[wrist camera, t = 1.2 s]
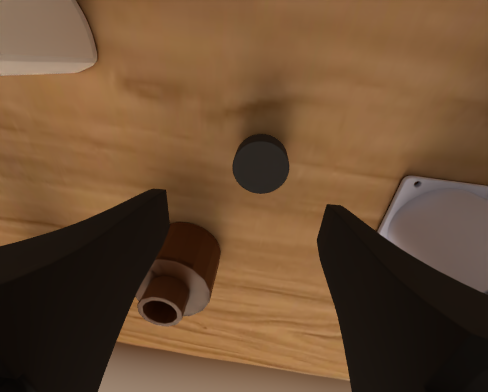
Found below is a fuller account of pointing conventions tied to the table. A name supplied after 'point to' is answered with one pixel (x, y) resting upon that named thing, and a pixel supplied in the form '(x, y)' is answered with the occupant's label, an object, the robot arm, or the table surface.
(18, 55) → the eye dropper bottle
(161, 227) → the robot arm
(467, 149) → the table surface
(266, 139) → the cylinder
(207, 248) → the amber bottle
